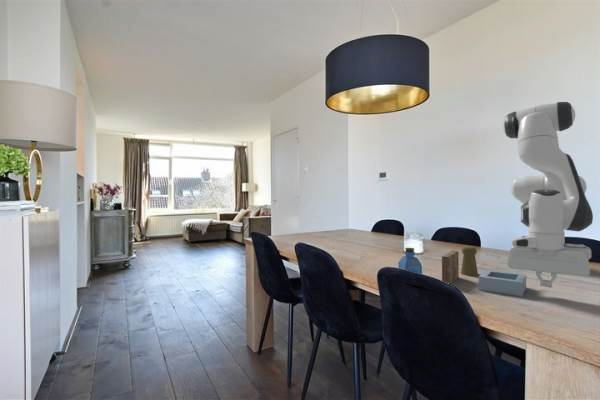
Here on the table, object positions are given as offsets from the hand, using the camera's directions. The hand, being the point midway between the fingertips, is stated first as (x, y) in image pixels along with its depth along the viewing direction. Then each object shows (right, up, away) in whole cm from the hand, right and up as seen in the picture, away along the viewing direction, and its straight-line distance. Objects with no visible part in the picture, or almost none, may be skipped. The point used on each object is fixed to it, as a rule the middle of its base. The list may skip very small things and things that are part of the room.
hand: (546, 286), depth 100 cm
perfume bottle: (-36, -3, +19) cm, 41 cm away
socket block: (-9, -3, +8) cm, 12 cm away
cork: (-9, -3, +28) cm, 29 cm away
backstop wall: (-21, -3, +18) cm, 28 cm away
